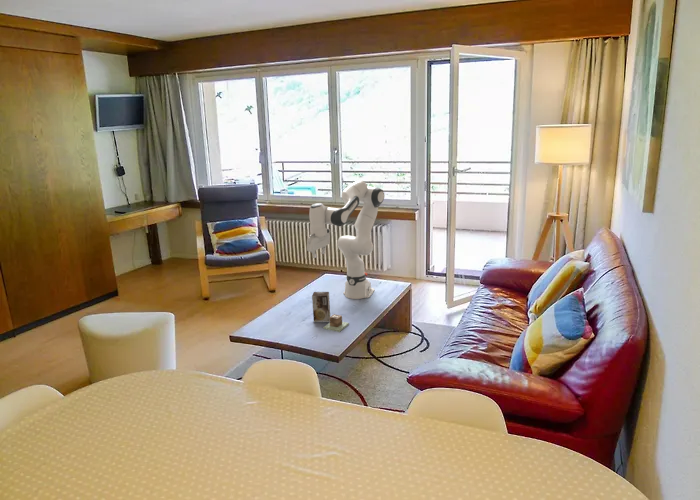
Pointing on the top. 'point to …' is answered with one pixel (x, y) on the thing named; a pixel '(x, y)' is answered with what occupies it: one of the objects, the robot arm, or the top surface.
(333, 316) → the walnut cube
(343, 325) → the sage board
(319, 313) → the coffee box
